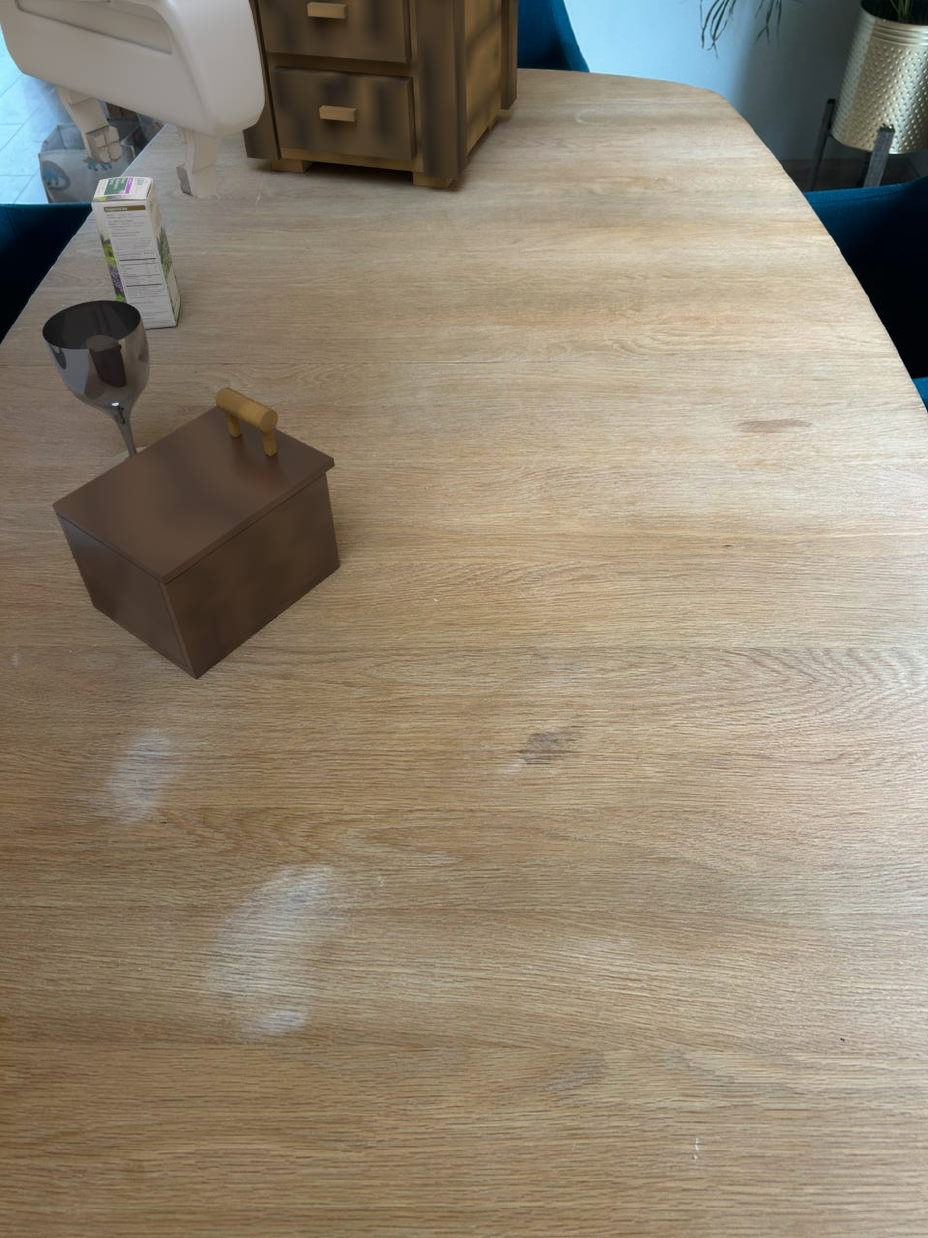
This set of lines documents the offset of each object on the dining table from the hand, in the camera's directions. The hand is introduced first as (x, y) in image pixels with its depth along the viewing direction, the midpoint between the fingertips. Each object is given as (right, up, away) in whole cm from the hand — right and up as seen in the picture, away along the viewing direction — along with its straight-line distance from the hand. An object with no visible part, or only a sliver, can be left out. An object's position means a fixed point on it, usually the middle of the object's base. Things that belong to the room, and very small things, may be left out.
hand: (152, 175), depth 64 cm
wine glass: (-10, -15, +29) cm, 34 cm away
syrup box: (-15, +6, +49) cm, 52 cm away
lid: (0, -18, +11) cm, 22 cm away
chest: (0, -26, +18) cm, 31 cm away
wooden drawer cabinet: (+9, +41, +83) cm, 93 cm away
